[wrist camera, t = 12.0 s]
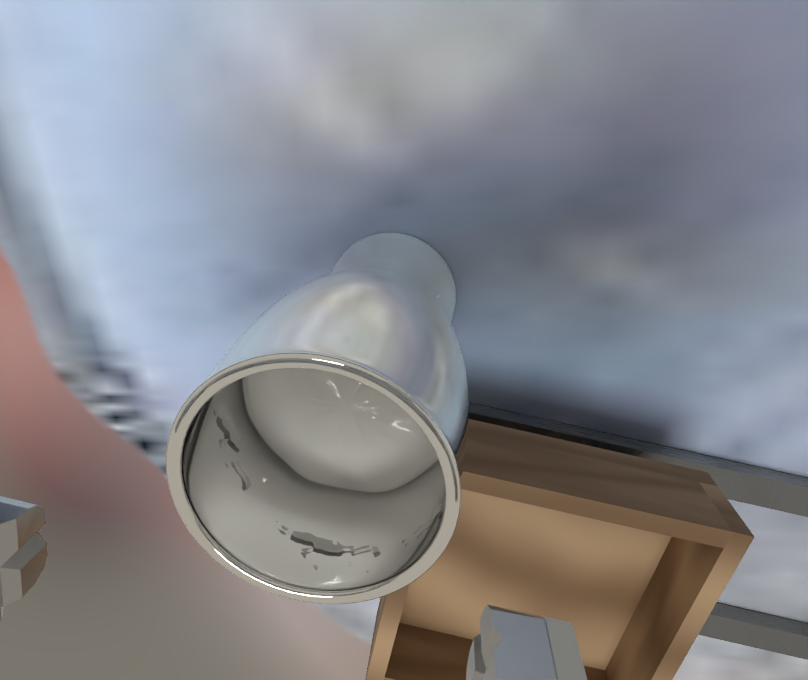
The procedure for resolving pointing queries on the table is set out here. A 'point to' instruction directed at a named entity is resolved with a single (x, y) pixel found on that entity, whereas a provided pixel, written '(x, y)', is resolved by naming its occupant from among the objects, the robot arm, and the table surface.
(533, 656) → the robot arm
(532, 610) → the tray
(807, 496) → the track
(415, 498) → the beer glass
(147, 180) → the table surface
